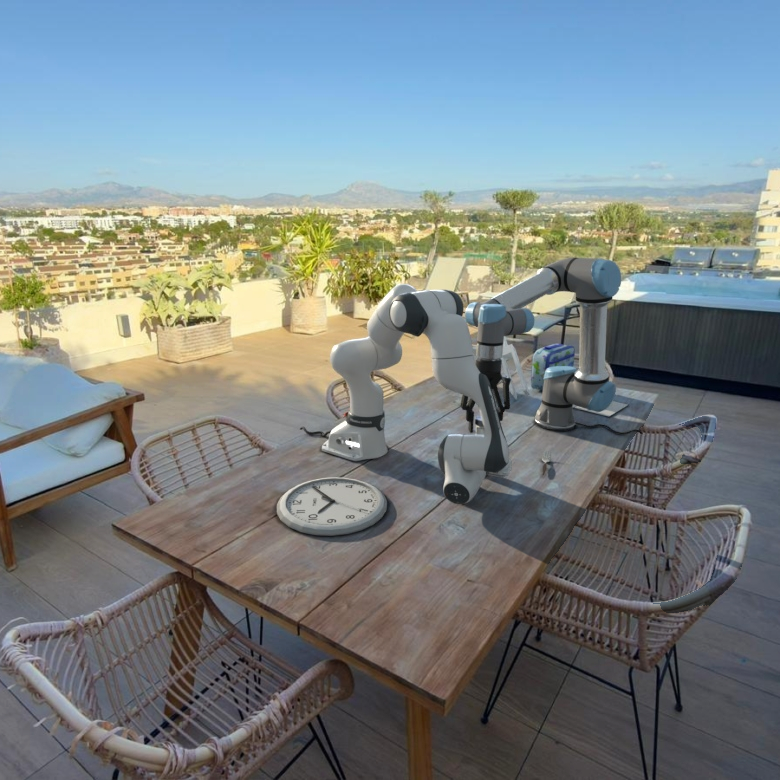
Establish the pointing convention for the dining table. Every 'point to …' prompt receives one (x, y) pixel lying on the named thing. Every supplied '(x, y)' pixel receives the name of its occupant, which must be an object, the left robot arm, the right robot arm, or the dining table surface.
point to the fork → (545, 461)
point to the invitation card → (607, 409)
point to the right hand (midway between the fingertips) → (483, 430)
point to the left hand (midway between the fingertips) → (482, 451)
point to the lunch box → (550, 361)
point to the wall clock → (331, 506)
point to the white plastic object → (507, 354)
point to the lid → (479, 421)
